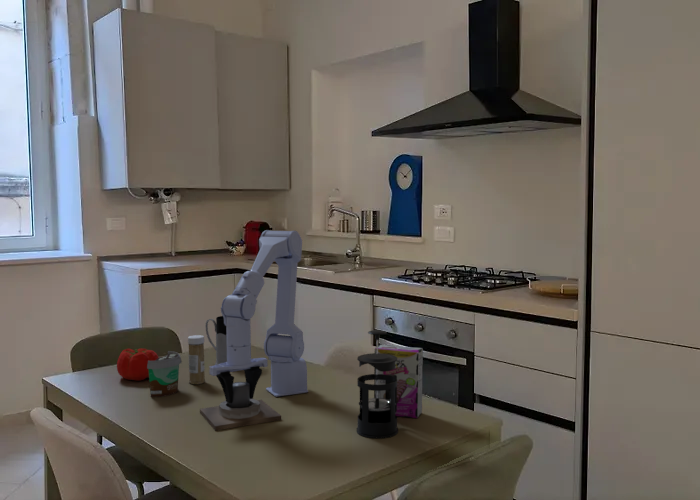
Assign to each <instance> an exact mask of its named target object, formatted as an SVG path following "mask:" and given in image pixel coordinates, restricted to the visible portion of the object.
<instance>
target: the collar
mask: <svg viewBox="0 0 700 500" xmlns="http://www.w3.org/2000/svg"><path fill="white" fill-rule="evenodd" d="M199 414H200V415H201V416H202V417H203V418H204V419H205V421H206V422H207V423H208V424H209V425H210V426H211V427H212V428H213V430H214V431H220V430H227V429H233V428H238V427H240V428H241V427H246V426H253V425H258V424H265V423H269V422H276V421H281V420H282V415H281V414H280V413H279V412H278V411H276V410H275V409H274V408H272V407H271V406H270V405H269V404H268V403H266V402H265V401H264V400H263V399H259V400H257V399H254V398H253V399H250V406H249V407H246V408H230V407H229V403H228V402H226V400H223V401H221V402H220V403H219V405H216V406H210V407H202V408H199Z"/></svg>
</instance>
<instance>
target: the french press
mask: <svg viewBox="0 0 700 500" xmlns="http://www.w3.org/2000/svg"><path fill="white" fill-rule="evenodd" d="M367 334H368V335H372V336H373V335H374V339H375V341H376V347H377V353H375V352H374V353H366V354H365V353H364V354H361V355H358V356H357V361H358V362H359V364H358V365H359V368H361V367H362V366H363V365H370V366H371V367H373V369H374V368H376V369H377V371H376V374H374V373H372V374H371V373H370V374H364V375H360V376H359V377H358V378H357V387H358V388H359V402H358V405H359V414H358V415H357V427H356V433H357V434H358V435H359V436H362V437H364V438H369V439H387V438H391V437H394V436H396V435H397V434H398V433H399V428H398V416H396V415H395V413H396V412H397V376H396V375H392V374H389V375H385V374H378V370H379V371H382V372H385V371H391V370H393V369H395V362H396V361H397V357H396V356H393V355H390V354H381V353H378V346H379V341H380V336H381V335H387V331H385V330H383V329H381V330H380V329H373V330H369V331H368V332H367ZM373 380H376V385H374V383H373V384H371V383H366V381H373ZM378 380H385V384H382V385H378ZM383 390H385V398H378V391H383ZM369 391H376V398H374V397H370V394H369Z"/></svg>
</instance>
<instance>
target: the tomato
mask: <svg viewBox="0 0 700 500" xmlns="http://www.w3.org/2000/svg"><path fill="white" fill-rule="evenodd" d="M159 357H160V356H159V355H158V354H157V352H155V351H154V350H152V349H147V348H142V347H141V348H138V349H137V348H135V349H131V348H129V347H128V348H125V349H122V351H121V352H120V354H119V356H118V358H117V361H116V369H117V370H116V371H117V373H118V375H119V376H120V377H122V378H123V379H125V380H128V381H129V380H130V381H131V380H132V381H136V382H137V381H138V382H140V381H144V380H145V379H149V370H148V369H147V364H148V361H155V360H156V359H158V358H159Z"/></svg>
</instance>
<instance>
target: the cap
mask: <svg viewBox="0 0 700 500" xmlns="http://www.w3.org/2000/svg"><path fill="white" fill-rule="evenodd" d="M232 392H233V401H232V403H229V407H230V408H246V407H249V406H250V384H249V383H247V382H246V381H236V382H235V381H233V389H232Z"/></svg>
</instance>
